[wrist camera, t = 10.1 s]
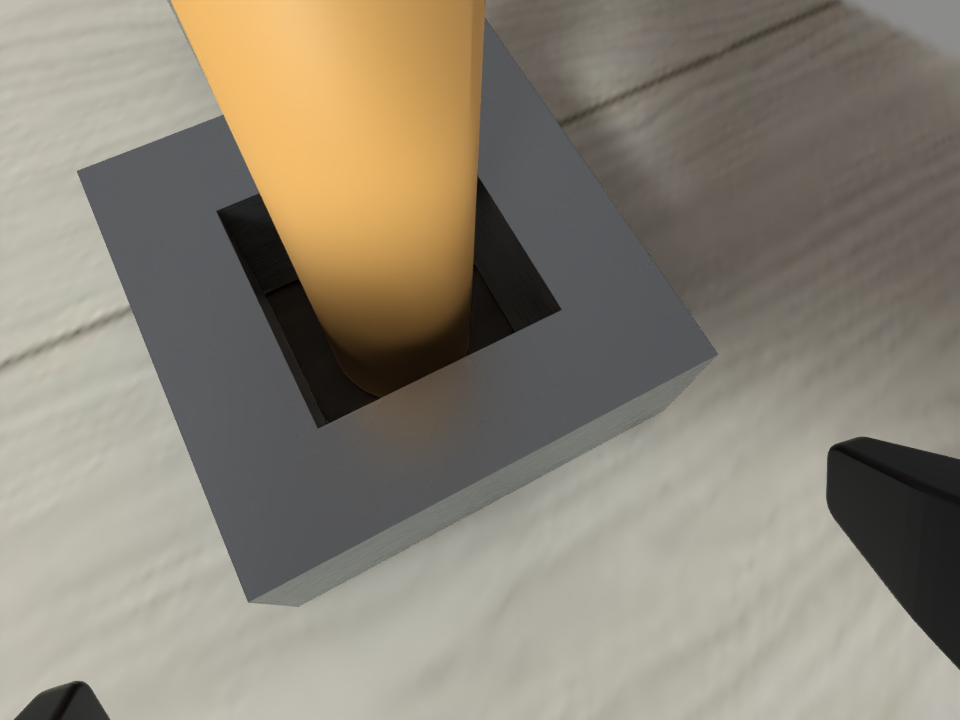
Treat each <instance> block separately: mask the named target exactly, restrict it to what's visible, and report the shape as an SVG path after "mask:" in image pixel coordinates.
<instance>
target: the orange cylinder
mask: <svg viewBox="0 0 960 720" xmlns="http://www.w3.org/2000/svg"><path fill="white" fill-rule="evenodd" d="M171 2H172V5H173V7H174V9H175V11H176V13H177V15H178V17H179V20H180V22H181V24H182V26H183V28H184V30H185V33H186V35H187V37H188V39H189V41H190V43H191V46H192V48H193V50H194V52H195V54H196V56H197V59H198V61H199V63H200V65H201V67H202V69H203V72H204V74H205V76H206V78H207V80H208V82H209V85H210V87H211V89H212V91H213V93H214V95H215V98H216V100H217V102H218V104H219V106H220V108H221V111H222V113H223V115H224V117H225V119H226V121H227V124H228V126H229V128H230V130H231V132H232V134H233V136H234V139H235V141H236V143H237V145H238V147H239V149H240V152H241V154H242V156H243V158H244V160H245V162H246V165H247V167H248V169H249V171H250V173H251V175H252V178H253V180H254V182H255V184H256V186H257V188H258V191H259V193H260V195H261V197H262V199H263V201H264V204H265V206H266V208H267V210H268V212H269V214H270V217H271V219H272V221H273V223H274V225H275V227H276V230H277V232H278V234H279V236H280V238H281V240H282V242H283V245H284V247H285V249H286V251H287V253H288V255H289V258H290V260H291V262H292V264H293V266H294V268H295V271H296V273H297V275H298V277H299V279H300V281H301V284H302V286H303V288H304V290H305V292H306V294H307V297H308V299H309V301H310V303H311V305H312V307H313V310H314V312H315V314H316V316H317V318H318V320H319V323H320V325H321V327H322V329H323V331H324V333H325V336H326V338H327V340H328V342H329V344H330V346H331V348H332V351H333V353H334V355H335V357H336V359H337V361H338V364H339V365H340V367H341V369H342V371H343V372H344V373H345V374H346V376H347V377H348V378H349V379H350V380H351V381H352V382H353V383H354V384H355V385H357V386H358V387H360V388H361V389H363V390H364V391H366V392H368V393H370V394H373V395H376V396H378V397H384V396H386V395H388V394H390V393H392V392H394V391H397V390H399V389H401V388H403V387H405V386H407V385H409V384H411V383H413V382H415V381H417V380H419V379H421V378H423V377H425V376H427V375H429V374H431V373H433V372H436V371H438V370H440V369H442V368H444V367H446V366H448V365H450V364H452V363H454V362H456V361H458V360H460V359H462V358H464V357H466V354H467V351H468V347H469V341H470V325H471V303H472V281H473V259H474V237H475V216H476V194H477V172H478V150H479V128H480V106H481V85H482V63H483V41H484V19H485V0H171Z"/></svg>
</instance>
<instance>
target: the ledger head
mask: <svg viewBox="0 0 960 720" xmlns="http://www.w3.org/2000/svg"><path fill="white" fill-rule="evenodd" d="M167 1H168V3H169V5H170V7H171V9H172V11H173V13H174V15H175V17H176V19H177V21H178V23H179V25H180V27H181V29H182V31H183V33H184V35H185V37H186V39H187V41H188V43H189V45H190V47H191V49H192V51H193V53H194V55H195V57H196V59H197V56H196V54H195V52H194V50H193V48H192V46H191V43H190V41H189V39H188V37H187V35H186V33H185V30H184V28H183V26H182V24H181V22H180V20H179V17H178V15H177V13H176V11H175V9H174V7H173V5H172V2H171V0H167ZM197 61H198V59H197ZM198 63H199V61H198ZM199 65H200V63H199ZM200 67H201V65H200ZM201 69H202V67H201ZM202 71H203V69H202ZM203 73H204V72H203ZM204 75H205V74H204ZM205 77H206V76H205ZM206 79H207V78H206ZM207 81H208V80H207ZM208 83H209V82H208ZM77 173H78V175H79V178H80V180H81V183H82V185H83V188H84V191H85V193H86V196H87V198H88V201H89V203H90V206H91V208H92V211H93V213H94V216H95V218H96V221H97V223H98V226H99V228H100V231H101V233H102V236H103V238H104V241H105V243H106V246H107V248H108V251H109V253H110V256H111V258H112V261H113V264H114V266H115V269H116V271H117V274H118V276H119V279H120V281H121V284H122V286H123V289H124V291H125V294H126V296H127V299H128V301H129V304H130V306H131V309H132V311H133V314H134V316H135V319H136V321H137V324H138V326H139V329H140V331H141V334H142V337H143V339H144V342H145V344H146V347H147V349H148V352H149V354H150V357H151V359H152V362H153V364H154V367H155V369H156V372H157V374H158V377H159V379H160V382H161V384H162V387H163V389H164V392H165V394H166V397H167V399H168V402H169V404H170V407H171V409H172V412H173V415H174V417H175V420H176V422H177V425H178V427H179V430H180V432H181V435H182V437H183V440H184V442H185V445H186V447H187V450H188V452H189V455H190V457H191V460H192V462H193V465H194V467H195V470H196V472H197V475H198V477H199V480H200V482H201V485H202V488H203V490H204V493H205V495H206V498H207V500H208V503H209V505H210V508H211V510H212V513H213V515H214V518H215V520H216V523H217V525H218V528H219V530H220V533H221V535H222V538H223V540H224V543H225V545H226V548H227V550H228V553H229V555H230V558H231V561H232V563H233V566H234V568H235V571H236V573H237V576H238V578H239V581H240V583H241V586H242V588H243V591H244V593H245V596H246V598H247V601H248V603H260V604H272V605H284V606H296V607H299V606H300V605H302V604H304V603H306V602H308V601H310V600H312V599H313V598H315V597H317V596H319V595H321V594H323V593H325V592H327V591H328V590H330V589H332V588H334V587H336V586H338V585H340V584H341V583H343V582H345V581H347V580H349V579H351V578H353V577H354V576H356V575H358V574H360V573H362V572H364V571H366V570H368V569H369V568H371V567H373V566H375V565H377V564H379V563H381V562H382V561H384V560H386V559H388V558H390V557H392V556H394V555H395V554H397V553H399V552H401V551H403V550H405V549H407V548H409V547H410V546H412V545H414V544H416V543H418V542H420V541H422V540H423V539H425V538H427V537H429V536H431V535H433V534H435V533H436V532H438V531H440V530H442V529H444V528H446V527H448V526H450V525H451V524H453V523H455V522H457V521H459V520H461V519H463V518H464V517H466V516H468V515H470V514H472V513H474V512H476V511H477V510H479V509H481V508H483V507H485V506H487V505H489V504H491V503H492V502H494V501H496V500H498V499H500V498H502V497H504V496H505V495H507V494H509V493H511V492H513V491H515V490H517V489H518V488H520V487H522V486H524V485H526V484H528V483H530V482H532V481H533V480H535V479H537V478H539V477H541V476H543V475H545V474H546V473H548V472H550V471H552V470H554V469H556V468H558V467H559V466H561V465H563V464H565V463H567V462H569V461H571V460H573V459H574V458H576V457H578V456H580V455H582V454H584V453H586V452H587V451H589V450H591V449H593V448H595V447H597V446H599V445H600V444H602V443H604V442H606V441H608V440H610V439H612V438H614V437H615V436H617V435H619V434H621V433H623V432H625V431H627V430H628V429H630V428H632V427H634V426H636V425H638V424H640V423H641V422H643V421H645V420H647V419H649V418H651V417H653V416H655V415H656V414H658V413H660V412H662V411H664V410H665V409H666V407H667V406H668V405H669V404H670V403H671V402H672V401H673V400H674V399H675V398H676V397H677V396H678V395H679V394H680V393H681V392H682V391H683V390H684V389H685V388H686V387H687V386H688V385H689V384H690V383H691V382H692V381H693V380H694V379H695V378H696V377H697V376H698V375H699V374H700V373H701V372H702V371H703V370H704V369H705V368H706V367H707V366H708V365H709V364H710V362H711V361H712V360H713V359H714V358H715V357H716V356H717V355H718V353H717V352H716V350H715V349H714V348H713V346H712V345H711V343H710V342H709V340H708V339H707V337H706V336H705V335H704V333H703V332H702V330H701V329H700V327H699V326H698V324H697V323H696V322H695V320H694V319H693V317H692V316H691V314H690V313H689V311H688V310H687V309H686V307H685V306H684V304H683V303H682V301H681V300H680V298H679V297H678V296H677V294H676V293H675V291H674V290H673V288H672V287H671V285H670V284H669V283H668V281H667V280H666V278H665V277H664V275H663V274H662V272H661V271H660V270H659V268H658V267H657V265H656V264H655V262H654V261H653V259H652V258H651V257H650V255H649V254H648V252H647V251H646V249H645V248H644V247H643V245H642V244H641V242H640V241H639V239H638V238H637V236H636V235H635V234H634V232H633V231H632V229H631V228H630V226H629V225H628V223H627V222H626V221H625V219H624V218H623V216H622V215H621V213H620V212H619V210H618V209H617V208H616V206H615V205H614V203H613V202H612V200H611V199H610V197H609V196H608V195H607V193H606V192H605V190H604V189H603V187H602V186H601V184H600V183H599V182H598V180H597V179H596V177H595V176H594V174H593V173H592V171H591V170H590V169H589V167H588V166H587V164H586V163H585V161H584V160H583V158H582V157H581V156H580V154H579V153H578V151H577V150H576V148H575V147H574V145H573V144H572V143H571V141H570V140H569V138H568V137H567V135H566V134H565V132H564V131H563V130H562V128H561V127H560V125H559V124H558V122H557V121H556V119H555V118H554V117H553V115H552V114H551V112H550V111H549V109H548V108H547V106H546V105H545V104H544V102H543V101H542V99H541V98H540V96H539V95H538V93H537V92H536V91H535V89H534V88H533V86H532V85H531V83H530V82H529V81H528V79H527V78H526V76H525V75H524V73H523V72H522V70H521V69H520V68H519V66H518V65H517V63H516V62H515V60H514V59H513V57H512V56H511V55H510V53H509V52H508V50H507V49H506V47H505V46H504V44H503V43H502V42H501V40H500V39H499V37H498V36H497V34H496V33H495V31H494V30H493V29H492V27H491V26H490V24H489V23H488V21H487V20H486V18H485V19H484V41H483V63H482V85H481V106H480V128H479V150H478V172H477V194H476V216H475V237H474V259H473V262H474V264H475V265H476V267H477V269H478V270H479V272H480V274H481V275H482V277H483V279H484V280H485V282H486V284H487V286H488V287H489V289H490V291H491V292H492V294H493V296H494V297H495V299H496V301H497V302H498V304H499V306H500V307H501V309H502V311H503V312H504V314H505V316H506V318H507V319H508V321H509V323H510V324H511V326H512V328H513V329H514V331H515V333H514V334H511V335H509V336H507V337H505V338H503V339H501V340H499V341H497V342H495V343H493V344H491V345H489V346H487V347H485V348H483V349H481V350H479V351H477V352H475V353H472V354H470V355H468V356H466V357H464V358H462V359H460V360H458V361H456V362H454V363H452V364H450V365H448V366H446V367H444V368H442V369H440V370H438V371H436V372H433V373H431V374H429V375H427V376H425V377H423V378H421V379H419V380H417V381H415V382H413V383H411V384H409V385H407V386H405V387H403V388H401V389H399V390H397V391H394V392H392V393H390V394H388V395H386V396H384V397H382V398H380V399H378V400H376V401H374V402H372V403H370V404H368V405H366V406H364V407H362V408H360V409H358V410H355V411H353V412H351V413H349V414H347V415H345V416H343V417H341V418H339V419H337V420H335V421H333V422H331V423H329V424H326V422H325V419H324V417H323V415H322V413H321V411H320V409H319V407H318V405H317V402H316V400H315V398H314V396H313V394H312V392H311V390H310V388H309V386H308V383H307V381H306V379H305V377H304V375H303V373H302V371H301V369H300V366H299V364H298V362H297V360H296V358H295V356H294V354H293V352H292V350H291V347H290V345H289V343H288V341H287V339H286V337H285V335H284V333H283V330H282V328H281V326H280V324H279V322H278V320H277V318H276V316H275V314H274V311H273V309H272V307H271V305H270V303H269V301H268V299H267V297H266V293H268V292H270V291H273V290H275V289H277V288H279V287H282V286H284V285H286V284H288V283H291V282H293V281H295V280H298V279H299V277H298V275H297V273H296V271H295V268H294V266H293V264H292V262H291V260H290V258H289V255H288V253H287V251H286V249H285V247H284V245H283V242H282V240H281V238H280V236H279V234H278V232H277V230H276V227H275V225H274V223H273V221H272V219H271V217H270V214H269V212H268V210H267V208H266V206H265V204H264V201H263V199H262V197H261V195H260V193H259V191H258V188H257V186H256V184H255V182H254V180H253V178H252V175H251V173H250V171H249V169H248V167H247V165H246V162H245V160H244V158H243V156H242V154H241V152H240V149H239V147H238V145H237V143H236V141H235V139H234V136H233V134H232V132H231V130H230V128H229V126H228V124H227V121H226V119H225V117H224V115H222V116H219V117H217V118H214V119H211V120H209V121H206V122H204V123H201V124H198V125H196V126H193V127H191V128H188V129H185V130H183V131H180V132H178V133H175V134H172V135H170V136H167V137H164V138H162V139H159V140H157V141H154V142H151V143H149V144H146V145H144V146H141V147H138V148H136V149H133V150H131V151H128V152H125V153H123V154H120V155H118V156H115V157H112V158H110V159H107V160H105V161H102V162H99V163H97V164H94V165H91V166H89V167H86V168H84V169H81V170H78V171H77Z"/></svg>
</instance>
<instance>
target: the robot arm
mask: <svg viewBox="0 0 960 720" xmlns="http://www.w3.org/2000/svg"><path fill="white" fill-rule="evenodd" d="M826 499H827V504H828V508H829V510H830V512H831V514H832V516H833V518H834V519H835V521H836V522H837V523H838V524H839V526H840V527H841V528H842V530H843V531H844V532H845V533H846V535H847V536H848V537H849V539H850V540H851V541H852V542H853V544H854V545H855V546H856V548H857V549H858V550H859V552H860V553H861V554H862V555H863V557H864V558H865V559H866V561H867V562H868V563H869V564H870V566H871V567H872V568H873V570H874V571H875V572H876V573H877V575H878V576H879V577H880V579H881V580H882V581H883V583H884V584H885V585H886V586H887V588H888V589H889V590H890V592H891V593H892V594H893V595H894V597H895V598H896V599H897V601H898V602H899V603H900V604H901V605H902V607H903V608H904V609H905V610H906V612H907V613H908V614H909V615H910V616H911V618H912V619H913V620H914V621H915V622H916V623H917V624H918V626H919V627H920V628H921V629H922V630H923V631H924V632H925V633H926V634H927V636H928V637H929V638H930V639H931V640H932V641H933V642H934V643H935V644H936V645H937V646H938V647H939V648H940V649H941V651H942V652H943V653H944V654H945V655H946V656H947V657H948V658H949V659H950V660H951V661H952V662H953V663H954V664H955V665H956V667H957V668H958V669H959V670H960V459H956V458H952V457H948V456H944V455H939V454H935V453H931V452H927V451H923V450H919V449H914V448H910V447H906V446H902V445H898V444H894V443H889V442H885V441H881V440H877V439H873V438H869V437H857V438H853V439H850V440H847V441H844V442H840V443H837V444H835V445H833V446H832V447H831V448H830V450H829V452H828V456H827V488H826ZM14 720H110V718H109V717H108V715H107V713H106V712H105V710H104V709H103V707H102V705H101V704H100V702H99V700H98V699H97V697H96V696H95V694H94V692H93V691H92V689H91V688H90V686H89V685H88V684H86V683H85V682H83V681H73V682H70V683H67V684H64V685H60V686H57V687H54V688H51V689H48V690H45V691H43V692H41V693H40V694H38V695H37V696H36V697H35V698H34V699H33V700H32V701H31V702H30V703H29V704H28V705H27V706H26V707H25V708H24V710H23V711H22V712H21V713H20V714H19V715H18V716H17V717H16V718H15V719H14Z"/></svg>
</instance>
